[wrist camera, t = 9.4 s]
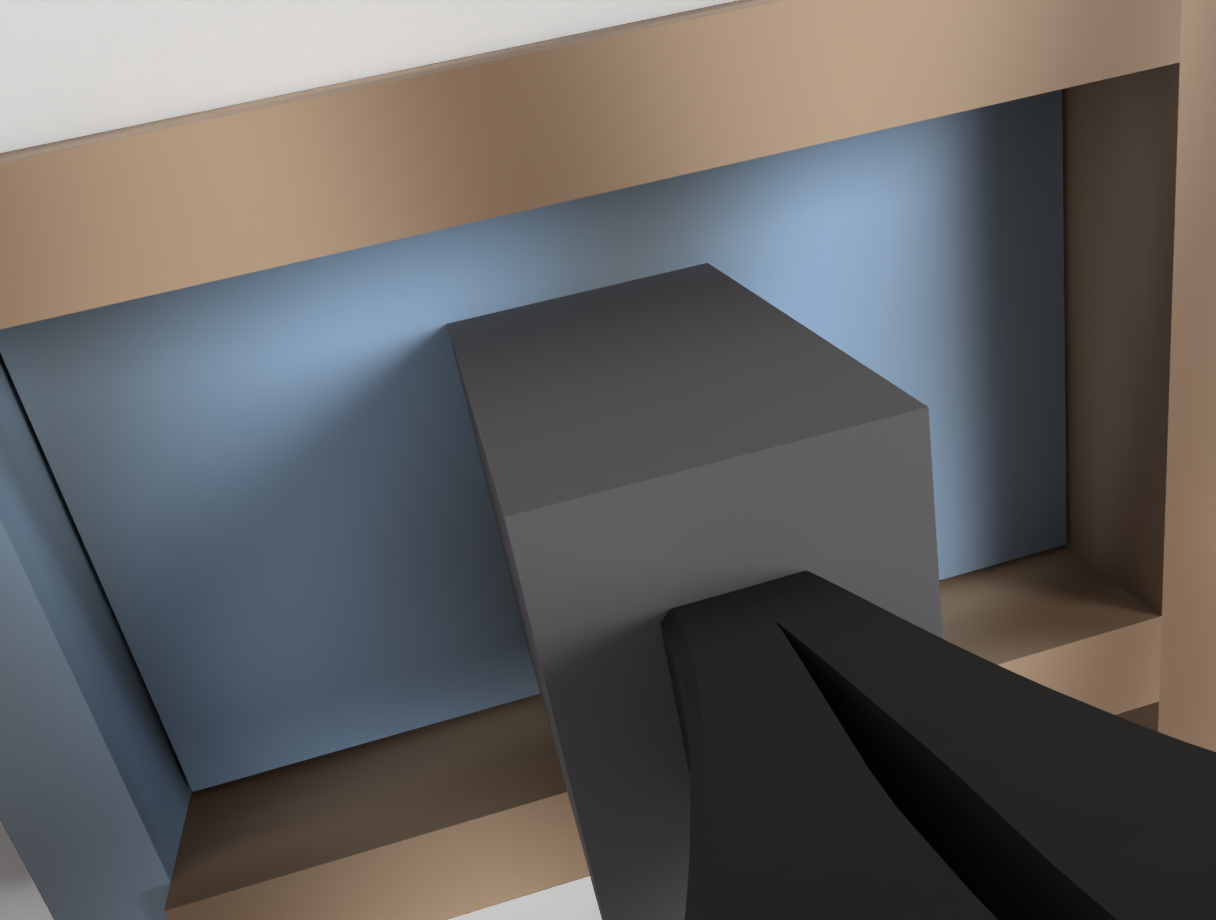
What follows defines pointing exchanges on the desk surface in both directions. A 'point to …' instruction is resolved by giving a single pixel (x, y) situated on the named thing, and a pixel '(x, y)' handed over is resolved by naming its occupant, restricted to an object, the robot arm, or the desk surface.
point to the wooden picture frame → (445, 442)
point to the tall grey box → (677, 518)
